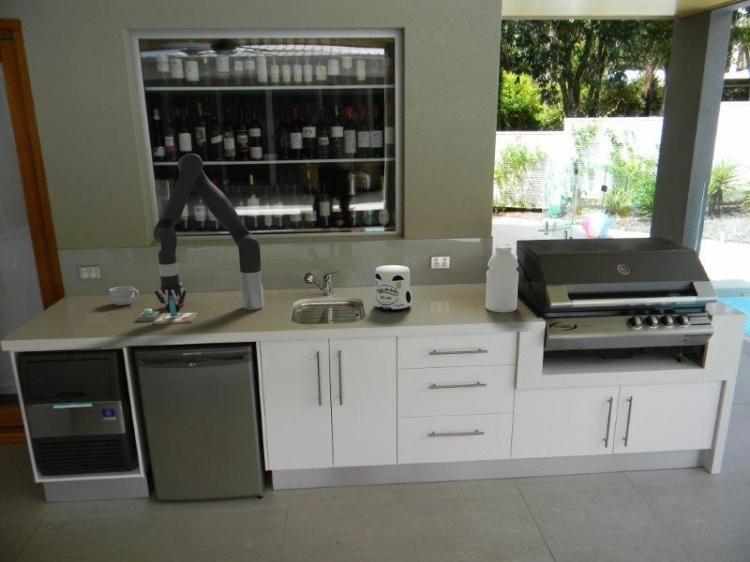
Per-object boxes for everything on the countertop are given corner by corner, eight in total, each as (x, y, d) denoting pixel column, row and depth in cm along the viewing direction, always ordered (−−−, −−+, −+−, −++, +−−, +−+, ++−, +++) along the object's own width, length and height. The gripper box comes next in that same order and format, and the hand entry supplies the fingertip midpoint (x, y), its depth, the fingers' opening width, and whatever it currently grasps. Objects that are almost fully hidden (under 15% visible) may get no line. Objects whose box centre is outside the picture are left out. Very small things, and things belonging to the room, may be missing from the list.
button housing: (159, 315, 248) (159, 311, 247) (154, 320, 241) (153, 316, 241) (143, 316, 248) (143, 311, 247) (137, 321, 241) (137, 316, 240)
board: (198, 314, 249) (198, 311, 249) (191, 322, 237) (190, 320, 237) (162, 315, 248) (161, 312, 248) (153, 324, 237) (152, 321, 236)
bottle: (479, 308, 249) (480, 247, 242) (495, 301, 259) (497, 242, 251) (507, 315, 240) (509, 251, 232) (523, 307, 249) (526, 246, 242)
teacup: (106, 306, 264) (103, 289, 262) (124, 299, 273) (121, 284, 271) (128, 309, 258) (126, 292, 256) (146, 302, 268) (144, 286, 266)
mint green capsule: (154, 314, 246) (153, 308, 245) (151, 317, 242) (150, 310, 242) (145, 315, 246) (144, 308, 245) (142, 317, 242) (142, 311, 241)
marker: (178, 314, 243) (176, 293, 240) (176, 316, 240) (174, 295, 237) (171, 314, 243) (169, 293, 240) (169, 316, 240) (166, 295, 237)
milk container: (378, 314, 243) (377, 274, 239) (370, 303, 260) (369, 265, 255) (416, 311, 247) (416, 272, 242) (406, 300, 263) (406, 263, 258)
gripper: (188, 270, 240) (192, 309, 245) (155, 271, 240) (159, 310, 244) (183, 275, 233) (187, 314, 237) (149, 276, 232) (154, 315, 237)
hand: (173, 312), depth 241 cm, fingers closed on marker, 3 cm apart
